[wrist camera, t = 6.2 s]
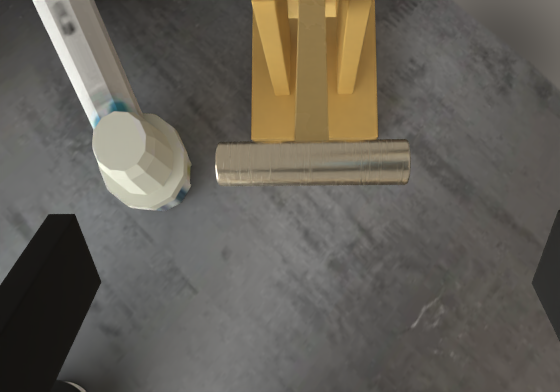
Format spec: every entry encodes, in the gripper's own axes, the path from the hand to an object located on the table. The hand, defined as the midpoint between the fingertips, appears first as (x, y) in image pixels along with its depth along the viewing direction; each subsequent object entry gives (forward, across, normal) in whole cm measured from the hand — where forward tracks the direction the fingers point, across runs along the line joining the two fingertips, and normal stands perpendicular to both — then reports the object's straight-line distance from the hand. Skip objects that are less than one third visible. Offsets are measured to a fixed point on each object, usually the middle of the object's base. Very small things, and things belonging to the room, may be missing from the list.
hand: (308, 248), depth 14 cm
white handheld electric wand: (+23, +15, +2) cm, 27 cm away
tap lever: (+9, 0, -1) cm, 9 cm away
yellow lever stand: (+21, 0, +4) cm, 22 cm away
